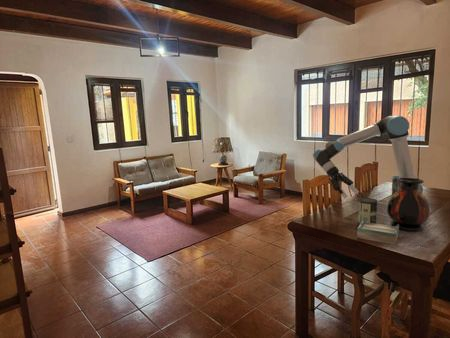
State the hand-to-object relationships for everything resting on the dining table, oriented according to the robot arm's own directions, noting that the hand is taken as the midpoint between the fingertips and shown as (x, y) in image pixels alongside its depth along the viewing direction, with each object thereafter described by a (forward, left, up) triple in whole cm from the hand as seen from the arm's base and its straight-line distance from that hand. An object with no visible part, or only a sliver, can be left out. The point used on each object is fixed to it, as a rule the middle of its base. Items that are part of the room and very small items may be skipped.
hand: (351, 195), depth 188 cm
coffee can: (+2, +10, -15) cm, 18 cm away
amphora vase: (+2, +30, -15) cm, 34 cm away
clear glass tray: (+22, +19, -15) cm, 33 cm away
